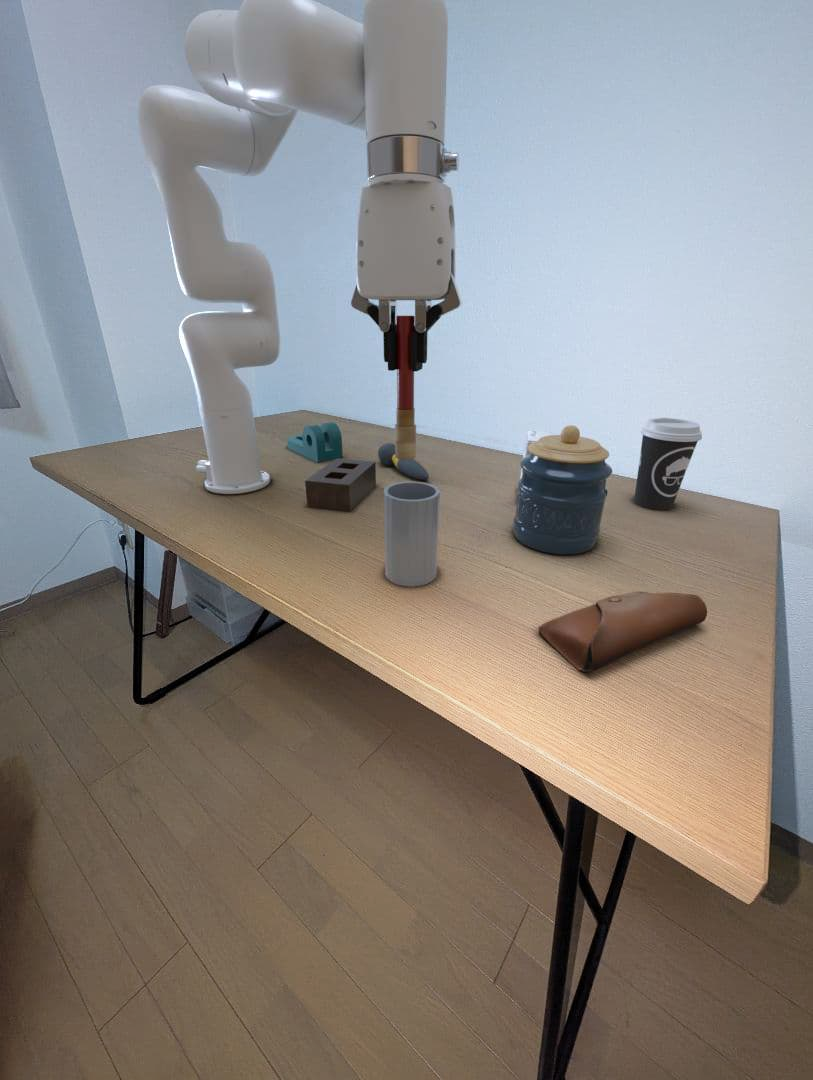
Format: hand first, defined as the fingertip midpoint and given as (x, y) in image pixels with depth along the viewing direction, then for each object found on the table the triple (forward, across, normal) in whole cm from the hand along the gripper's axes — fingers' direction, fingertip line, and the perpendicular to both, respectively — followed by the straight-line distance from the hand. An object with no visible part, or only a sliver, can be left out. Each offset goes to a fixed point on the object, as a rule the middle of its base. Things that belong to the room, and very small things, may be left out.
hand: (405, 368), depth 54 cm
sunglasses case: (+27, -27, +8) cm, 39 cm away
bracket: (+26, +38, -50) cm, 68 cm away
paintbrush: (+26, +12, -42) cm, 51 cm away
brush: (+11, 0, 0) cm, 11 cm away
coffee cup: (+27, -38, -36) cm, 59 cm away
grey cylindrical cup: (+26, -1, +1) cm, 26 cm away
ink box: (+27, -16, -33) cm, 45 cm away
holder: (+26, +19, -24) cm, 40 cm away
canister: (+27, -20, -16) cm, 37 cm away
